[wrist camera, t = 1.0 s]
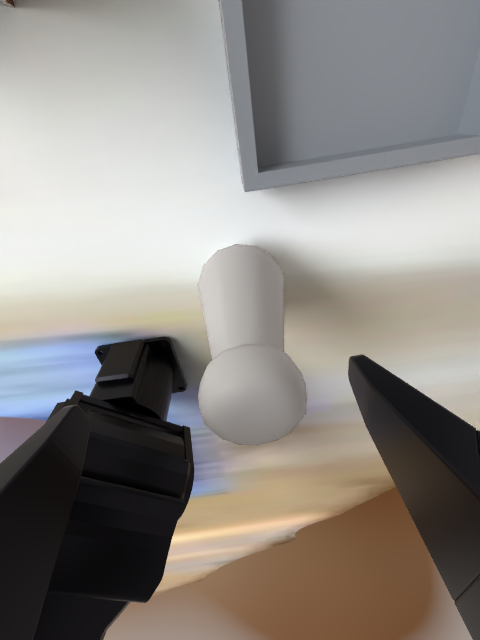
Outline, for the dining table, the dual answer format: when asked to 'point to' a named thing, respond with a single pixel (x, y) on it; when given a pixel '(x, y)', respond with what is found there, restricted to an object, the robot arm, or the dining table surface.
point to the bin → (350, 85)
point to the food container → (7, 3)
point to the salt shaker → (247, 349)
